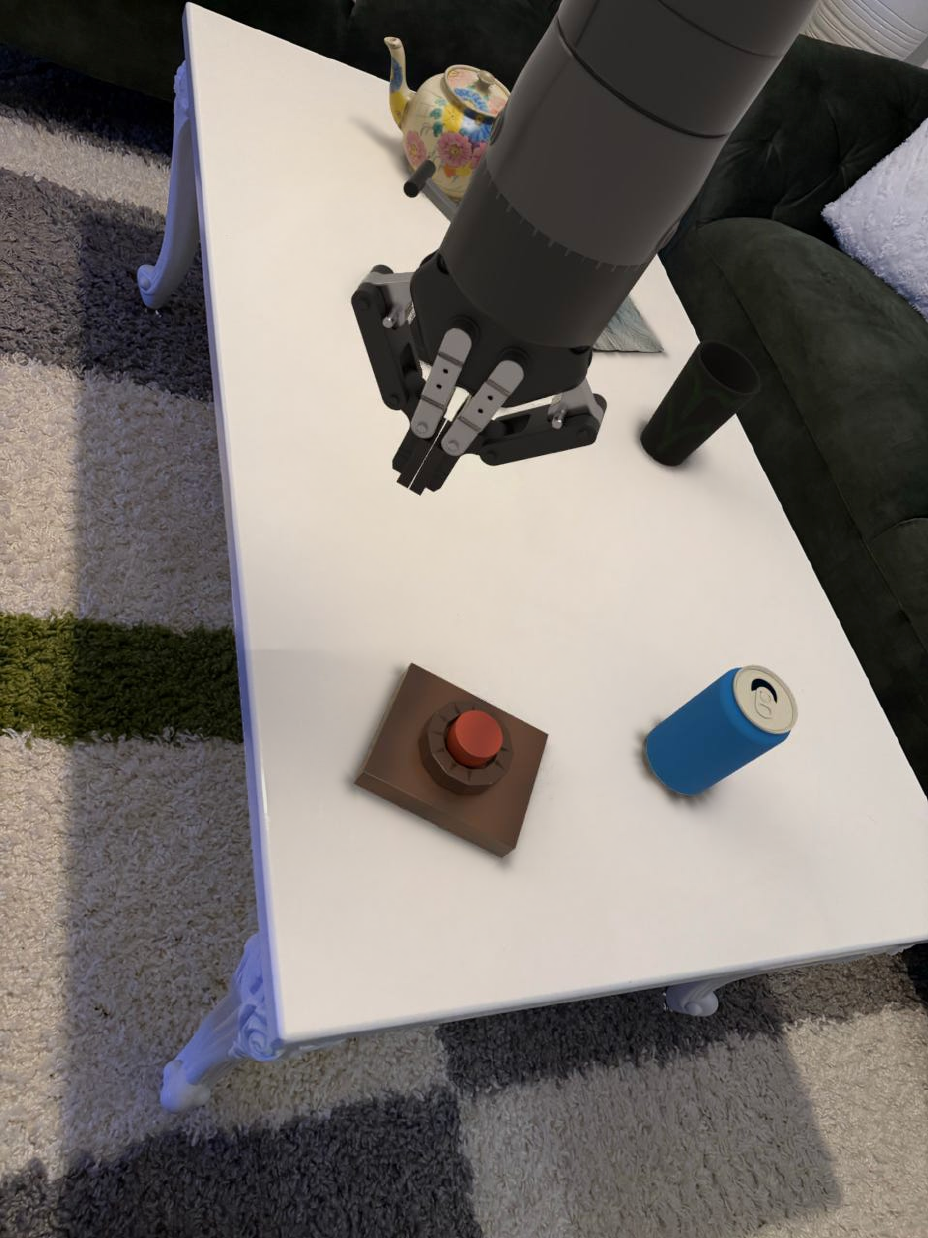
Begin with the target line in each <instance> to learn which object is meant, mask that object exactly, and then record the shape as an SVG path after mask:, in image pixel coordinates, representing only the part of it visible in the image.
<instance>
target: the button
mask: <svg viewBox="0 0 928 1238" xmlns="http://www.w3.org/2000/svg"><path fill="white" fill-rule="evenodd" d="M502 740H503V737H502V732H501V729H500V727H499V725H498V723H497V722H496V721H495V720H494V719H493V718H492V717H491V716H490V715H488V714H487V713H484V712H482V711H477V710H471V711H467V712H465V713H463V714H462V715H461V716H460V717H459V718H458V719H457V720H456V721H455V722H454V724H453V725H452V726H451V727H450V728H449V730H448V733H447V737H446V741H447V747H448V749H449V751H450V753H451V755H452V756H453V757H454V758H455V759H456V760H457V761H458V762H460V763H461V764H463V765H466V766H469V767H478V766H482V765H484V764H485V763H487V762H488V761H489V760H490V759H491V758H492V757H493V756H494V755H495V754H496V753H497V752H498V751H499V749H500V748H501V745H502Z"/></svg>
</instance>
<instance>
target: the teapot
mask: <svg viewBox="0 0 928 1238" xmlns="http://www.w3.org/2000/svg"><path fill="white" fill-rule="evenodd" d="M383 42H384V44H385V45H386V46H387V48H388V50H389V52H390V59H391V60H390V61H391V64H390V78H389V89H388V102H389V110H390V113H391V116H392V118H393V121H394V122H395V123H394V124H396V126H397V128H398V129H399V130H400V132H401V133H402V144H403V148H404V154H405V156H406V158H407V161H408V167H409V171H410V173H411V175H412V174H413V173H414V172H415V171H416V169H417V168H418V167H419V166H420V165H421V163H422V162H423V161H424V160H431V161H432V162H433V163H434V164H435V166H436V172H435V174H434V175H433V176H432V178H431V179H432V180H433V181H434V182H435V184H436V185H437V186H438V187H439V188H440V189H441V190H442V191H443V192H444V193H445V194H446V195H447V196H448V197H449V198H450V199H451V201H452V202H453V203H460V202H461V199H462V197H463V195H464V193H465V191H466V189H467V187H468V184H469V182H470V180H471V178H472V176H473V174H474V171H475V169H476V167H477V165H478V163H479V160H480V158H481V156H482V154H483V152H484V150H485V148H486V145H487V144H488V142H489V135H490V131H491V128H492V126H493V123H494V121H495V119H496V116H497V115H498V113H499V111H501V110H502V109H503V108H504V107H505V104H506V102H507V100H508V98H509V96H510V94H511V91H509V89H508V88H507V87H506V86H505V85H504V84H503V83H502V82H501V81H499V80H498V79H497V78H495V76H494V75H493V74H492V73H490V72H489V71H487V70H484V69H480V68H477V67H474V66H470V65H466V64H454V65H450V66H449V67H447V68H446V69H445V71H444V72H443V73H439V74H435V75H433V76H431V77H429V78H428V79H426V80H425V81H424V82H423V83H422V84H421V85H420V86H419V88H418V89H417V91H416V92H414V91H412V90H411V89H410V88H409V86H408V84H407V78H406V77H407V76H406V75H407V74H406V54H405V49H404V46H403V43H402V41H401V39H400V38H397V37H393V36H387V37H385V38H384V39H383Z"/></svg>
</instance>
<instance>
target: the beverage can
mask: <svg viewBox="0 0 928 1238" xmlns="http://www.w3.org/2000/svg"><path fill="white" fill-rule="evenodd" d="M798 718H799V709H798V704H797V701H796V698H795V696H794V694H793V692H792V690H791V689H790V687H789V686H788V684H787V683H786V682H785V681H784V679H782V678H781V676H779V675H778V674H777V673H776V672H774V671H773V670H771V669H770V668H768V667H766V666H762V665H759V664H747V665H744V666H742V667H735V668H731V669H729V670H728V671H727V672H725V673H723V674H722V675H721V676H720V677H718V678H717V679H716V680H714V681H713V682H712V683H711V684H709V685H708V686H707V687H705V688H704V689H702V690H701V691H700V692H699V693H697V694H696V695H695V696H693V697H692V698H691V699H690V700H688V701H687V702H686V703H684V704H683V705H682V706H681V707H679V708H677V709H676V710H675V711H674V712H672V713H671V714H670V715H669V716H667V717H666V718H665V719H663V720H662V721H661V722H660V723H658V724H657V725H656V726H654V727H653V728H652V729H651V731H650V732H649V734H648V735H647V738H646V742H645V751H646V753H645V754H646V757H647V761H648V763H649V766H650V768H651V770H652V772H653V773H654V774H655V776H656V777H657V778H658V780H659V781H661V783H662V784H663V785H665V786H666V787H667V788H669V789H670V790H672V791H673V792H675V793H677V794H681V795H685V796H695V795H699V794H701V793H704V792H705V791H706V790H708V789H709V788H711V787H713V786H715V785H716V784H718V783H719V782H721V781H723V780H724V779H726V778H727V777H729V776H731V775H732V774H734V773H736V772H737V771H739V770H740V769H742V768H743V767H745V766H747V765H749V764H750V763H751V762H754V761H755V760H756V759H758V758H760V757H761V756H763V755H764V754H766V753H767V752H769V751H772V750H773V749H774V748H776V747H777V746H779V745H781V744H782V743H784V742H785V741H786V740H787V739H788V737H789V736H790V734H791V731H792V729H794V727H795V726H796V724H797V721H798Z"/></svg>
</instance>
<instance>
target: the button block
mask: <svg viewBox="0 0 928 1238" xmlns="http://www.w3.org/2000/svg"><path fill="white" fill-rule="evenodd" d="M471 710H477V711H482V712H484V713H487V714H488V715H490V716H491V717H492V718H493V719H494V720H495V721H496V722H497V723H498V725H499V727H500V729H501V732H502V737H503V740H502V745H501V748H500V749H499V751H498V752H497V753H496V754H495V755H494V756H493V757H492V758H491V759H490V760H489V761H488V762H487V763H485V764H484V765H482V766H478V767H469V766H466V765H463V764H461V763H460V762H458V761H457V760H456V759H455V758H454V757H453V756H452V755H451V753H450V751H449V749H448V747H447V741H446V737H447V733H448V730H449V728H450V727H451V726H452V725H453V724H454V722H455V721H456V720H457V719H458V718H459V717H460V716H461V715H462V714H463V713H465V712H467V711H471ZM548 739H549V733H547V732H545V731H543V730H541V729H539V728H538V727H536V726H534V725H532V724H531V723H528V722H526V721H525V720H522V719H521V718H518V717H517V716H515V715H513V714H511V713H509V712H507V711H505V710H503V709H501V708H499V707H497V706H496V705H494V704H492V703H490V702H488V701H486V700H484V699H483V698H480V697H479V696H477V695H475V694H472V693H471V692H469V691H467V690H465V689H463V688H462V687H460V686H457V685H456V684H454V683H452V682H450V681H448V680H446V679H444V678H443V677H440V676H439V675H437V674H435V673H432V672H431V671H429V670H427V669H425V668H424V667H421V666H420V665H418V664H416V663H414V662H410V664H409V665H408V667H407V668H406V669H405V671H404V672H403V674H401V676H400V679H399V681H398V684H397V686H396V688H395V690H394V692H393V694H392V697H391V699H390V701H389V703H388V706H387V708H386V710H385V713H384V715H383V717H382V720H381V722H380V724H379V726H378V728H377V730H376V732H375V735H374V737H373V740H372V742H371V743H370V746H369V748H368V751H367V753H366V755H365V758H364V760H363V762H362V764H361V766H360V769H359V771H358V773H357V775H356V778H355V780H354V782H353V784H354V785H356V786H358V787H360V788H362V789H364V790H366V791H368V792H370V793H372V794H373V795H376V796H378V797H379V798H382V799H384V800H386V801H388V802H390V803H392V804H394V805H396V806H398V807H399V808H402V809H403V810H405V811H408V812H409V813H412V814H414V815H416V816H418V817H419V818H422V819H424V820H426V821H428V822H430V823H431V824H434V825H436V826H438V827H440V828H442V829H444V830H445V831H448V832H450V833H452V834H453V835H456V836H458V837H460V838H462V839H463V840H465V841H467V842H470V843H472V844H473V845H476V846H478V847H480V848H482V849H483V850H485V851H487V852H489V853H491V854H494V855H496V856H497V857H500V858H502V859H503V858H505V857H506V856H507V855H509V854H511V852H512V851H514V850H515V849H517V845H518V841H519V838H520V834H521V831H522V828H523V824H524V821H525V818H526V814H527V810H528V807H529V804H530V800H531V798H532V794H533V790H534V786H535V783H536V780H537V776H538V773H539V770H540V766H541V763H542V758H543V756H544V752H545V749H546V746H547V742H548Z"/></svg>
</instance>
